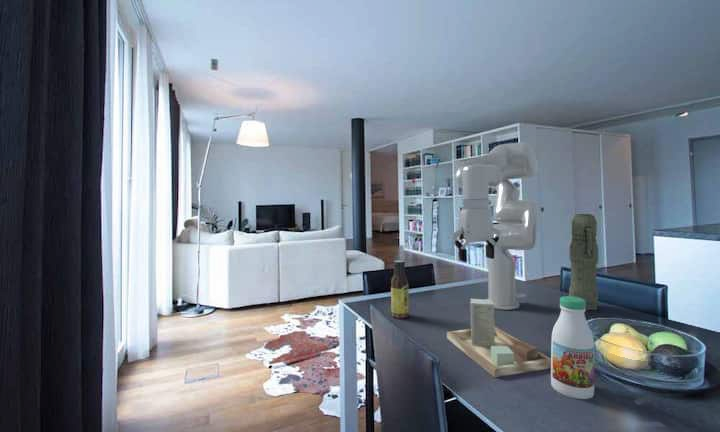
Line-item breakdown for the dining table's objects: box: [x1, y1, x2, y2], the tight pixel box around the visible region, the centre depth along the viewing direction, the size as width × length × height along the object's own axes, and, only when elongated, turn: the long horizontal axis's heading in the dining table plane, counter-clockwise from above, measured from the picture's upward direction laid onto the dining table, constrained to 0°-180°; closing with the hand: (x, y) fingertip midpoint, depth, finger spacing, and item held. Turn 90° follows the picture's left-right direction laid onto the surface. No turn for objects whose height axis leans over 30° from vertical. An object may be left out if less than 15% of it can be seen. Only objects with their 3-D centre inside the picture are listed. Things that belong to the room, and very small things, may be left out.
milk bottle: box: [550, 295, 595, 400], centre depth 69 cm, size 8×8×20 cm
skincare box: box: [469, 298, 495, 347], centre depth 91 cm, size 6×4×12 cm
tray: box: [446, 325, 551, 378], centre depth 86 cm, size 16×22×2 cm
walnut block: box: [512, 341, 539, 363], centre depth 80 cm, size 4×4×4 cm
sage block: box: [491, 346, 514, 366], centre depth 79 cm, size 4×4×4 cm
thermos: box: [568, 213, 599, 311], centre depth 121 cm, size 9×12×35 cm
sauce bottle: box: [390, 259, 410, 319], centre depth 116 cm, size 6×6×20 cm
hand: (476, 259), depth 101 cm, fingers open, 9 cm apart
